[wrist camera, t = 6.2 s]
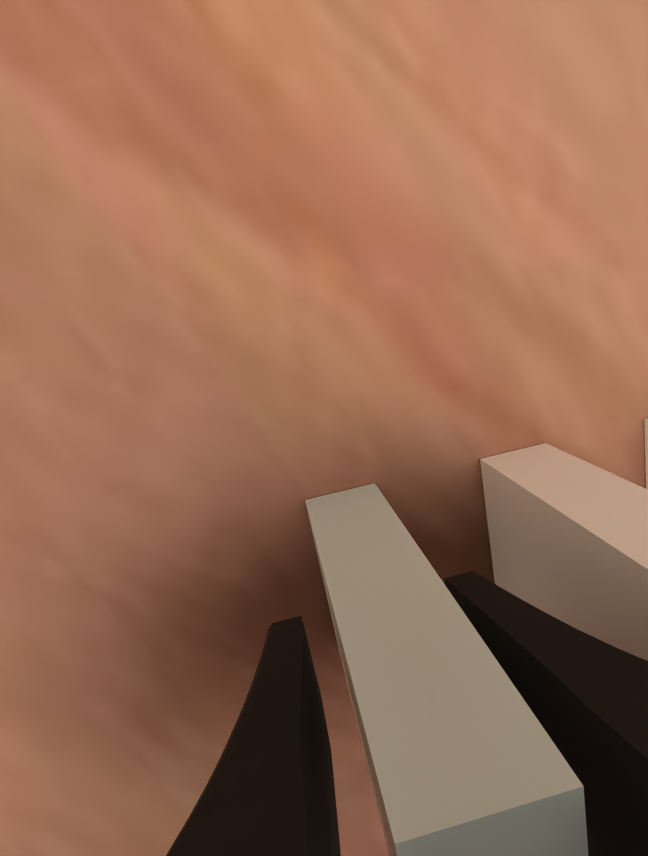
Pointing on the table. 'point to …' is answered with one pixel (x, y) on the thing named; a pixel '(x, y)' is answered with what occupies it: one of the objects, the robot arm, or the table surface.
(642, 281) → the table surface
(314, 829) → the robot arm
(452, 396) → the table surface
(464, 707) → the domino
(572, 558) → the domino
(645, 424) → the domino
